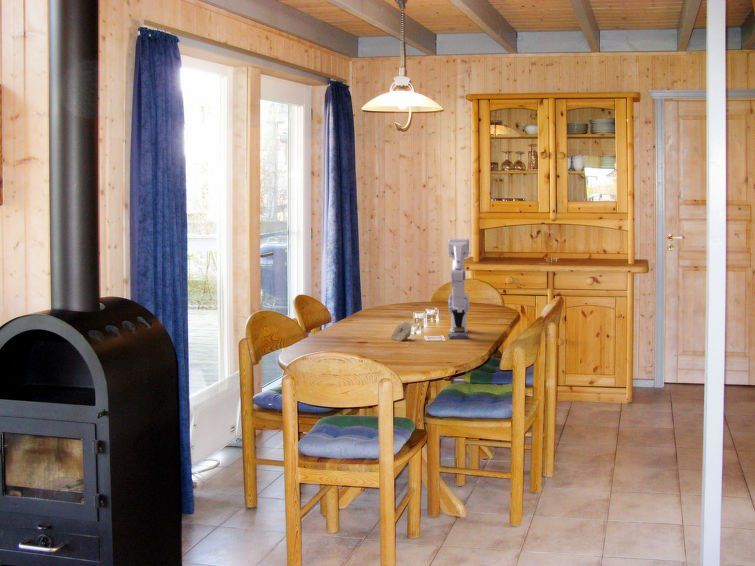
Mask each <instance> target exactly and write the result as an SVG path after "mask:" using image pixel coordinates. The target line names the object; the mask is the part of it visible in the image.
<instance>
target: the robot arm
mask: <svg viewBox="0 0 755 566" xmlns="http://www.w3.org/2000/svg"><path fill="white" fill-rule="evenodd" d="M448 255H449V257H450V258H452V259H453V260H452V263H451V267H452V268H451V269H452V270H451V271H450V282H451V294H449V295H448V305H447V306H448V308H447V309H448V312H449V313H451V317H450V318H451V322H450V323H451V328H449V331H450V333H455V332H454V327H461V325H462V326H463V327H464V328H465V332H464V333H469V331H468V328H467V327H468V326H467V324H468V323H467V314H468V312H470V296H469V294H467V293H466V292H465V291H466V290H465V283H466V280H467V279H466V276H467V275H466V269H465V268H466V264H465V260H466V259H467V258H468V257H469V256H470V239H469V238H449V239H448Z"/></svg>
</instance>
